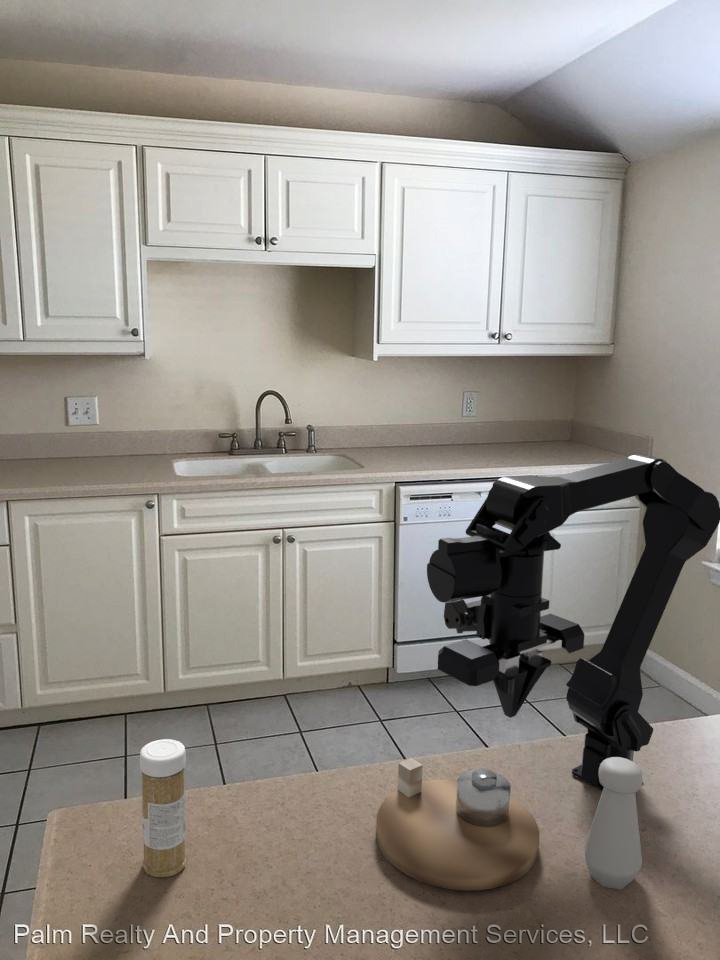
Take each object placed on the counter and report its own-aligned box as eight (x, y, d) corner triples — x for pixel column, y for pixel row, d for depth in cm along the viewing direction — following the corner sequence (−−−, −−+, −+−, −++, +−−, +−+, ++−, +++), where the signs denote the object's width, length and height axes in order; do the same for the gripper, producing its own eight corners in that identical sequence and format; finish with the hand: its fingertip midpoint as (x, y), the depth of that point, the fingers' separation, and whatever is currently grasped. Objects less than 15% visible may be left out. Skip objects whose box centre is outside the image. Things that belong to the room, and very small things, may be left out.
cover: (481, 790, 99) (483, 756, 98) (519, 815, 94) (522, 778, 94) (444, 807, 95) (446, 772, 95) (483, 833, 91) (485, 796, 90)
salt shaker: (628, 859, 91) (639, 749, 88) (648, 895, 85) (660, 779, 82) (575, 858, 90) (585, 749, 88) (591, 894, 85) (602, 778, 82)
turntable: (457, 774, 105) (459, 738, 104) (572, 847, 91) (576, 806, 90) (343, 824, 94) (344, 784, 93) (455, 915, 80) (458, 869, 79)
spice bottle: (148, 851, 90) (146, 736, 87) (191, 852, 90) (189, 737, 87) (137, 879, 85) (134, 759, 82) (181, 880, 85) (180, 760, 82)
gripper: (520, 558, 106) (514, 672, 109) (407, 585, 95) (404, 710, 98) (591, 581, 97) (582, 704, 100) (475, 613, 86) (470, 750, 90)
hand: (509, 715), depth 97 cm, fingers closed
